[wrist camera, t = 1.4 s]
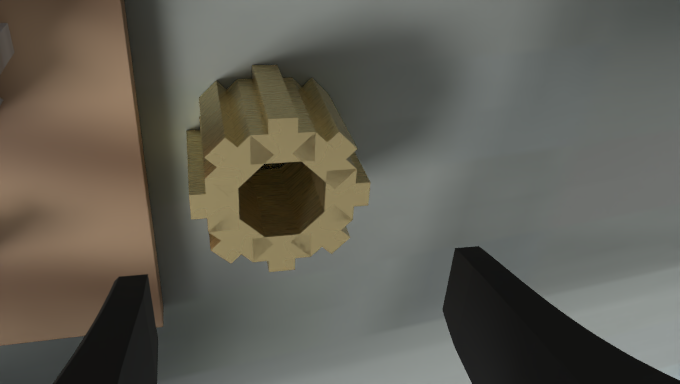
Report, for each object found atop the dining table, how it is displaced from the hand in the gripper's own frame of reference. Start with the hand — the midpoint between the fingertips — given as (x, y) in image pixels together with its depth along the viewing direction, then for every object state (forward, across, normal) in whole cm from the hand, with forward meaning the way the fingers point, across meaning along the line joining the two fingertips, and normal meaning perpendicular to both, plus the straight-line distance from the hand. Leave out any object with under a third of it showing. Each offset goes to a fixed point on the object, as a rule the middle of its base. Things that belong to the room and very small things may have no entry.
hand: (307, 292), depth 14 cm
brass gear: (+10, 0, +1) cm, 10 cm away
